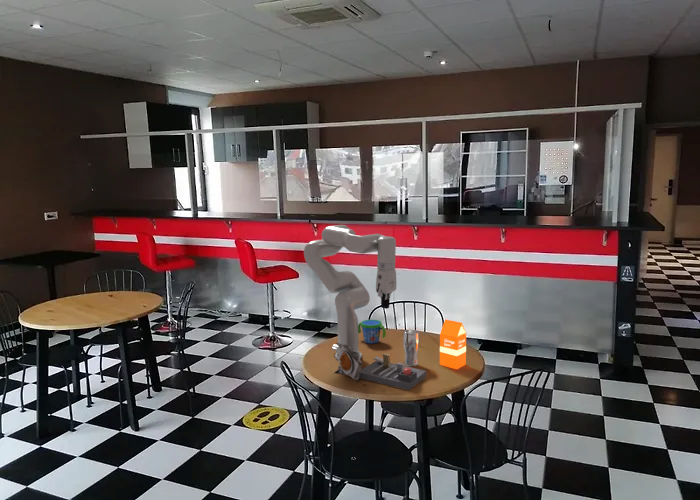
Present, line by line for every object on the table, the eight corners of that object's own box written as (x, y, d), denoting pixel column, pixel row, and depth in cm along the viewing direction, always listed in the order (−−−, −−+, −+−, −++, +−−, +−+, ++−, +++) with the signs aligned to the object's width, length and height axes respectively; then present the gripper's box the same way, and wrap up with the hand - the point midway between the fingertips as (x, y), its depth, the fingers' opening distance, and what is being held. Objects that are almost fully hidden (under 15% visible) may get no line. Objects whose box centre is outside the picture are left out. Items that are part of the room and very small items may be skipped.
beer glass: (409, 368, 229) (409, 335, 226) (400, 362, 235) (400, 330, 232) (422, 365, 232) (422, 332, 229) (413, 360, 238) (413, 328, 236)
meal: (332, 373, 224) (332, 344, 222) (340, 370, 227) (340, 341, 225) (354, 384, 212) (354, 353, 210) (362, 381, 215) (362, 351, 213)
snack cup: (353, 341, 265) (352, 321, 264) (366, 336, 273) (366, 317, 272) (377, 347, 255) (377, 327, 254) (390, 342, 263) (390, 322, 261)
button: (401, 378, 210) (401, 369, 210) (405, 375, 213) (405, 367, 212) (409, 379, 208) (409, 371, 208) (412, 377, 211) (412, 368, 210)
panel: (357, 377, 219) (357, 366, 218) (377, 365, 232) (377, 354, 231) (408, 390, 206) (408, 378, 205) (426, 376, 219) (426, 365, 218)
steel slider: (396, 371, 218) (396, 363, 218) (398, 369, 220) (398, 362, 219) (402, 372, 216) (402, 365, 216) (404, 371, 218) (404, 363, 217)
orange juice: (456, 369, 226) (457, 324, 223) (439, 364, 232) (439, 321, 229) (466, 364, 232) (466, 320, 229) (448, 359, 238) (449, 317, 235)
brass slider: (382, 367, 223) (382, 354, 222) (384, 365, 224) (384, 353, 223) (388, 368, 221) (388, 355, 220) (390, 366, 223) (390, 354, 222)
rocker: (373, 359, 228) (374, 357, 228) (376, 358, 230) (376, 356, 230) (385, 364, 225) (385, 362, 225) (387, 363, 227) (388, 361, 227)
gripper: (384, 270, 212) (383, 313, 216) (402, 264, 224) (401, 305, 228) (369, 267, 216) (368, 310, 220) (387, 261, 229) (386, 302, 232)
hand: (385, 307), depth 224 cm, fingers closed
